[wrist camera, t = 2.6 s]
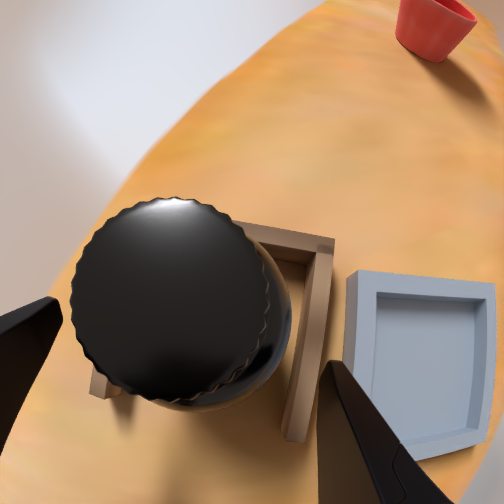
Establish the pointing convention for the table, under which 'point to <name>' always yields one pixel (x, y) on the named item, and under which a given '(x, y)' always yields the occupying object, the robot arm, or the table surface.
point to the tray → (424, 356)
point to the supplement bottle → (180, 306)
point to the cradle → (310, 326)
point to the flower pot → (433, 27)
